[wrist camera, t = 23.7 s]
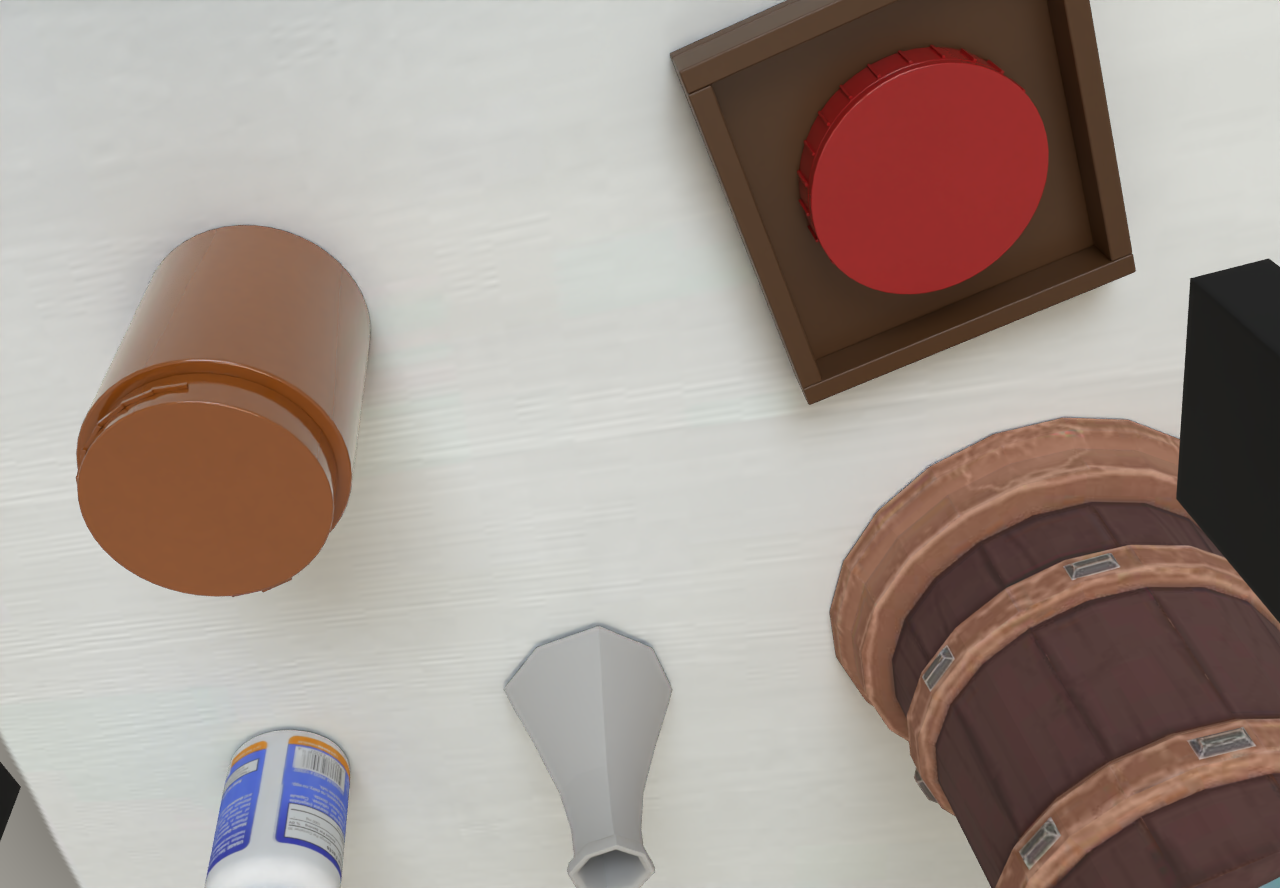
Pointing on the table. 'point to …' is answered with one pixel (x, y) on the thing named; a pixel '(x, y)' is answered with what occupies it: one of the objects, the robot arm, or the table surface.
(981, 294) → the tray
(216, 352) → the jar
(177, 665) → the table surface
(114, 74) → the table surface
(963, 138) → the lid
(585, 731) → the flask
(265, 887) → the pill bottle
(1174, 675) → the mug
